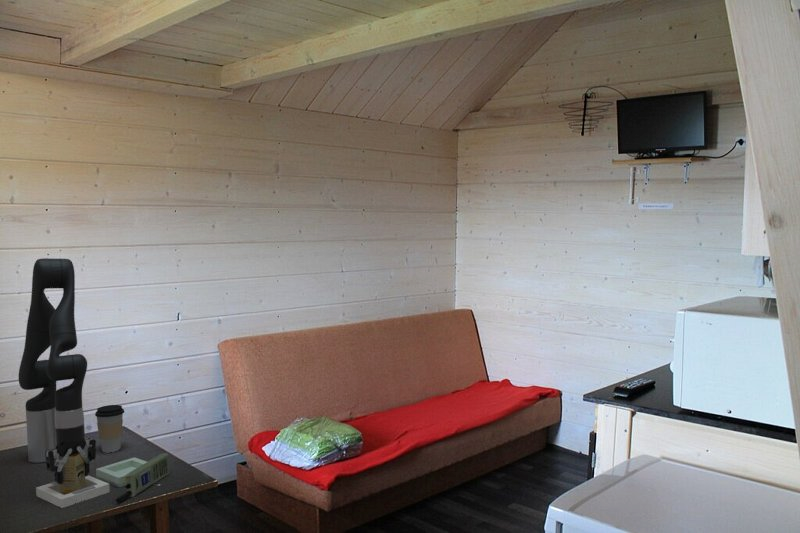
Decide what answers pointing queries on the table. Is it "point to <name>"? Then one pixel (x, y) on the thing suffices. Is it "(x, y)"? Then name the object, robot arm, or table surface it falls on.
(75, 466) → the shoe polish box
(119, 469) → the tray
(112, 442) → the coffee cup
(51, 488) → the holder
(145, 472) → the handheld radio
